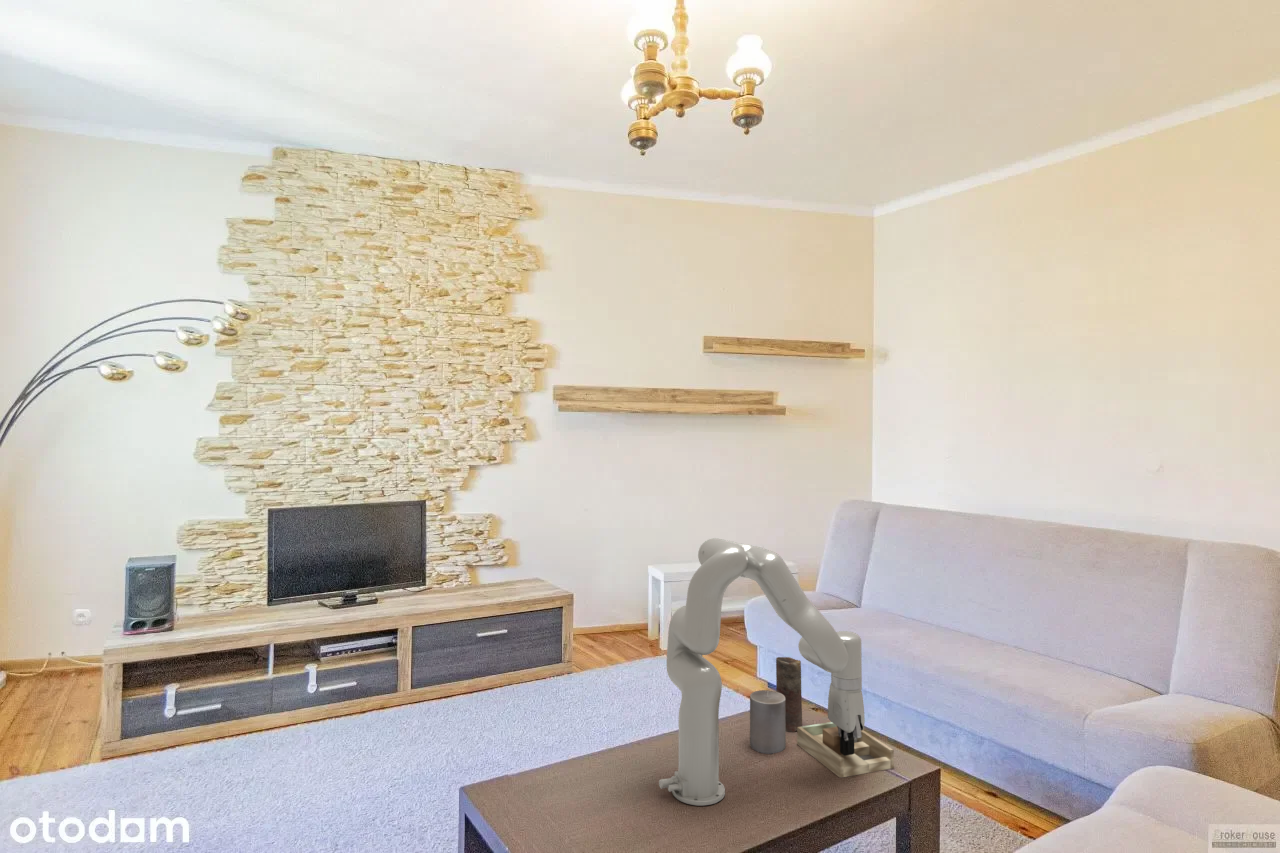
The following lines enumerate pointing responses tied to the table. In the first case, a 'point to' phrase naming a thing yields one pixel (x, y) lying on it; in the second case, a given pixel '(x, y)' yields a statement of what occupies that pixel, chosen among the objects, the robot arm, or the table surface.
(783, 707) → the pillar candle
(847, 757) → the tray
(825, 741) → the walnut block
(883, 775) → the table surface
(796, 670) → the brown wooden cylinder
